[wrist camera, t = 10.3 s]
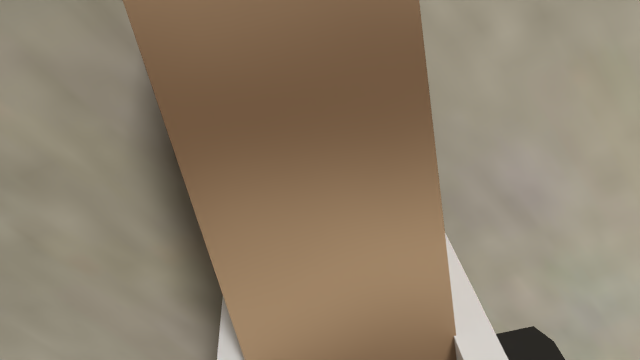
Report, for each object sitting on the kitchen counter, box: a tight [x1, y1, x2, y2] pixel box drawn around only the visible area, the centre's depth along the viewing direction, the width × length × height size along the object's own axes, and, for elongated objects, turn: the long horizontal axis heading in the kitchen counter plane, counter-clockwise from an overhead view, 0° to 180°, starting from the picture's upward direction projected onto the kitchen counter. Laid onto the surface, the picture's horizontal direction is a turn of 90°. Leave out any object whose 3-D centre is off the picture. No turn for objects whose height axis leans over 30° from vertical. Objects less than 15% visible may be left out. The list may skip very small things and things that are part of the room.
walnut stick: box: [123, 0, 457, 360], centre depth 14 cm, size 20×4×4 cm, turn 11°
